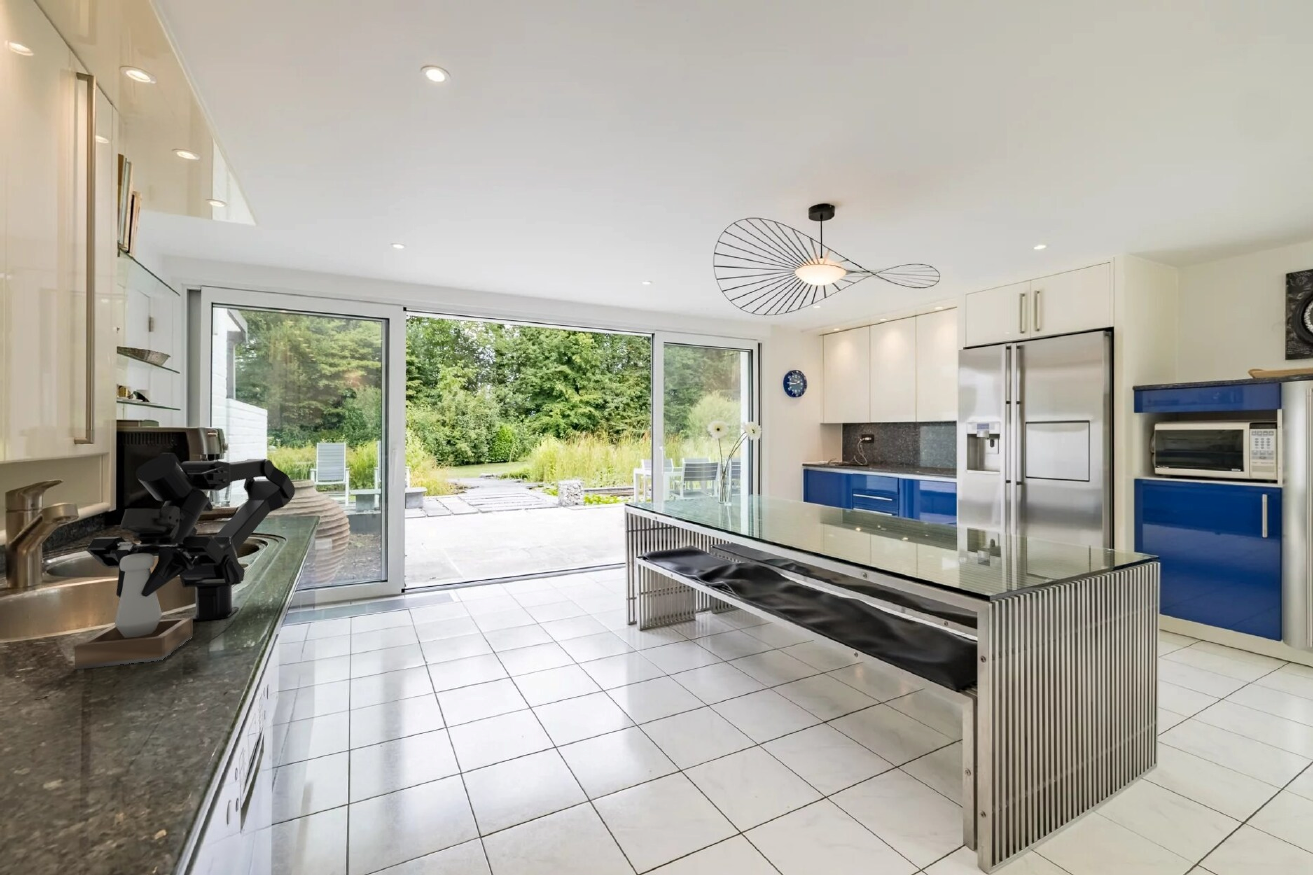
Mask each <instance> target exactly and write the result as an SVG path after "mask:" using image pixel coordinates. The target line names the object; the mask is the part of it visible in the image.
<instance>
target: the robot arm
mask: <svg viewBox="0 0 1313 875" xmlns="http://www.w3.org/2000/svg"><path fill="white" fill-rule="evenodd" d="M135 477H136V478H137V479H138V481H139V482H140V483H141V484H142V485H143V486H144V487H145V489H146V490H147V491H148V492H149V493H150V495H152V497H153V498H154V499H155V500H156V501H159V502H164V504H163V506H162V507H161V508H126V509H124V513H123V517H122V520H121V523H120V526H119V528H120V530H127V531H131V532H133V535H132V537H133V538H134V539H135V540H136V541H140V543H139V544H138V543H135V542H132V541H126V539H124V538H123V537H122V536H107V537H106V536H103V537H95V538H93V539H92V540H91V541H90V542H89V544H88V546H87V547H86V549H85V551H86V552H87V553H88V554H89V555H91V557H93V558H94V559H95V560H96V561H97V562H99V563H100V564H101V565H102V566H103V567H105V568H108V569H114V568H115V569H116V568H117V569H118V576H117V577H118V578H117V585H116V592H115V593H116V596H117V597H118V598H120V597H121V593H122V588H123V581H124V576H125V571H122V570H121V569H120V561H121V559H122V558H123V557H125V556H128V555H132V554H139V553H147V554H152V555H153V556H154V558H157V563H156V565H155V566H154V567H153V569H152V571H151V575H150V577H149V579H148V580H147V582H146V584H145V586H144V588H143V590H142V593H141V594H142V595H143V596H145V597H147V596H149V595H150V594H152V593H153V592H155V591H156V592H157V590H159V589H160V588H162V587H163V586H165V585H167V583H169V582H170V581H171V580H173V579H175V578H176V577H178V576H179V578H180V582H181V585H182V588H183V589H184V588H185V589H186V588H187V589H188V588H195V613H194V614H193V615H191V616H190V617H193V620H198V621H206V620H207V619H208V620H209V619H210V620H218V619H217V618H221V619H227V617H228V618H229V617H230V616H232V615H233V614H234V613H236V612H237V611H238V610H240V608H239V606H233V587H232V586H234V585H240V584H242V582H243V581H244V578H245V573H246V572H245V571H246V570H245V568H244V567H243V566H242V565H241V563H240V562H239V559H238V554H237V552H238V550H239V549H240V548H241V546H242V545H243V544H244V543H245V542H246V541H247V540H248V539H249V537H250V536H251V535H252V534H253V533H254V531H256V529H257V528H258V527H259V526H260V525H261V524H262V522H263V521H264V520H265V518H266V517H267V516H268V515H269V514H270V513H272V512H275V511H278V510H280V509H281V508H284V507H285V506H286V505H288V504H289V503H290V502H291V501H292V499H293V498H294V496H295V493H296V488H295V485H294V483H293V481H292V479H291V478H290V476H289V475H288V474H287V473H285V471H282V470H280V469H279V468H278V467H276V466H275V465H274V463H273V462H272V460H270V459H267V458H247V459H245V460H240V461H230V462H229V461H221V460H203V461H201V460H197V461H196V460H195V461H192V460H191V461H189V460H187V461H183V462H181V461H180V460H179V458H178V457H177V455H176V454H175V453H174V452H162V453H160V455H159V456H158V457H155V458H152V459H150V460H148V461H146V462H145V463H143V464H142V465H140V466H139V467H138V468H137V469H136V470H135ZM255 478H258V479H255ZM243 480H245V481H244V484H243V489H244V491H245V492H246V495H247V498H248V499H247V501H246V502H245V503H244V504H243V505H242V506H241V507H240V509H239V510H238V511H237V512H235V514H234V515H233V516H232V517H231V518H229V520H228V521H227V523H225V524H224V526H223V527H222V528H221V529H220V530H219V531H218V532H217V533H216V534H215V535H214V536H212V535H211V534H202V535H200V534H199V535H197V532H198V529H196V527H195V526H196V524H197V522H198V521H199V519H200V517H201V515H202V513H203V512H212V511H213V510H214V507H213V503H211V500H210V497H209V496H207V495H206V494H205V492H213V491H214V492H218V491H221V490H224V489H226V488H227V487H230V485H231V483H233V482H237V481H243ZM208 620H207V621H208Z"/></svg>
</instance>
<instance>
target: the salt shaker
mask: <svg viewBox="0 0 1313 875" xmlns="http://www.w3.org/2000/svg"><path fill="white" fill-rule="evenodd" d="M155 563H156V561H155V557H154V556H153V555H152V554H147V553H139V554H132V555H128V556H125V557H123V558H122V559H121V561H120V569H121V570H122V571H125V576H124V581H123V588H122V593H121V597H119V598H120V599H119V602H118V606H117V611H116V616H115V621H114V624H115V626H116V627H117V629H118V630H119V631H120V632H121V634H122V635H123V636H124V637H125V638H127V637H139V636H143V635H147V634H151V633H152V632H153V631H155V630H156V628H157V625H158V623H159V621H160V620H162V616H163V613H162V608H161V606H160V602H159V598H158V595H157V594H158V593H157V590H156V591H155V592H153V593H152V594H150V595H149V596H147V597H145V596H143V595H142V594H141V593H142V590H143V588H144V586H145V584H146V582H147V580H148V579H149V577H150V575H151V573H152V571H151V568H154V567H155V566H154V565H155Z"/></svg>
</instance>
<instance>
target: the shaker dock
mask: <svg viewBox="0 0 1313 875" xmlns="http://www.w3.org/2000/svg"><path fill="white" fill-rule="evenodd" d="M193 622H194V621H193V617H191V616H190V617H180V618H178V617H177V618H169V619H160V621H159V623H158V625H157V628H156V630H155V631H153V632H152V633H151V634H147V635H143V636H139V637H127V638H125V637H124V636H123V635H122V634H121V632H120V631H119V630H118V629H117V627H116V626H115V623H114V624H112V625H111V626H109V627H107V628H105V629H104V630H102V631H99V632H98V633H95V634H94V635H93V636H90V637H89V638H87V639H85V640H82V641H81V642H79V643H77V644H76V645H74V670H83V669H93V668H102V667H104V666H105V667H112V666H114V667H115V666H121V665H120V664H124V665H131V663H134V664H139V663H138V662H144V663H151V661H154V662H160V661H159V660H162V659H164V658H165V657H166V658H168V657H169V656H170V655H171V652H173V651H174V650H176V649H177V648H178V647H179V646H180V645H182V644H183V643H185V642H186V641H188V640H189V639H190V638H191V637H192V636H193V637H194V627H193V626H194V624H193ZM190 640H191V639H190ZM190 640H189V641H190ZM189 641H188V642H189ZM186 643H187V642H186ZM186 643H185V644H186ZM182 646H183V645H182ZM178 649H179V648H178ZM178 649H177V650H178ZM177 650H176V651H177ZM174 652H175V651H174ZM174 652H173V653H174ZM168 655H169V656H168ZM167 656H168V657H167ZM166 658H165V659H166ZM165 659H164V660H165ZM157 660H158V661H157ZM162 661H163V660H162ZM129 663H130V664H129Z"/></svg>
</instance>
